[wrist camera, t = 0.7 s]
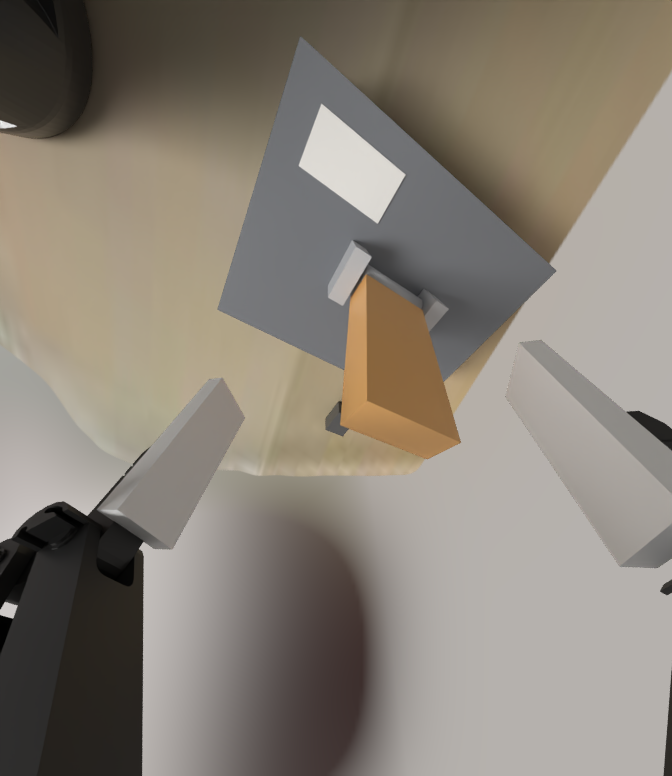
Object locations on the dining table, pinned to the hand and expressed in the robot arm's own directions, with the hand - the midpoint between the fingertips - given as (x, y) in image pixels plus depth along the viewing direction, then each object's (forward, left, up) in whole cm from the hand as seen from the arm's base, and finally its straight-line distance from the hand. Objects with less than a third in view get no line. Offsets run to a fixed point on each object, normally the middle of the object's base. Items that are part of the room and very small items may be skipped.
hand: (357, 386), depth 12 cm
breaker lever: (+1, +3, -11) cm, 11 cm away
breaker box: (+4, -3, -19) cm, 20 cm away
